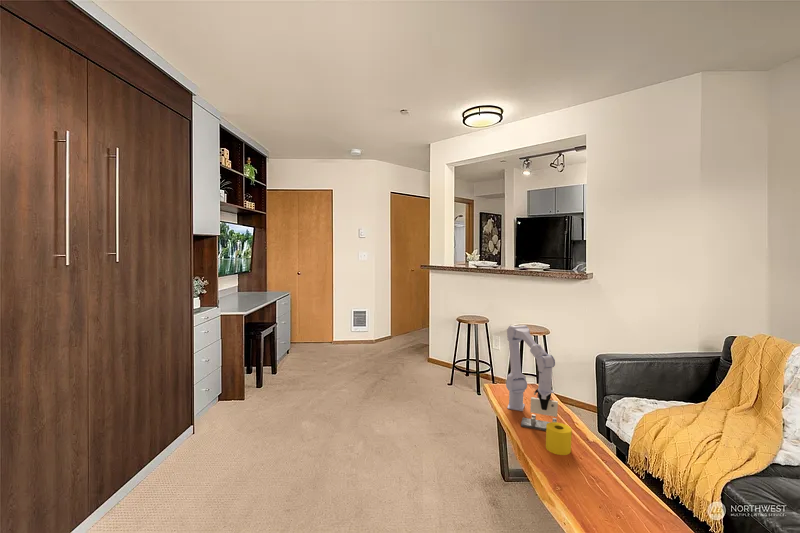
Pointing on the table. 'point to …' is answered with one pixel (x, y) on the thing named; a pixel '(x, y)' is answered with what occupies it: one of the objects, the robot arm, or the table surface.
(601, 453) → the table surface
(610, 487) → the table surface
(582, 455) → the table surface
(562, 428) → the tape roll
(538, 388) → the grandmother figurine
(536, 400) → the cabinet door
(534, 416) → the rail
